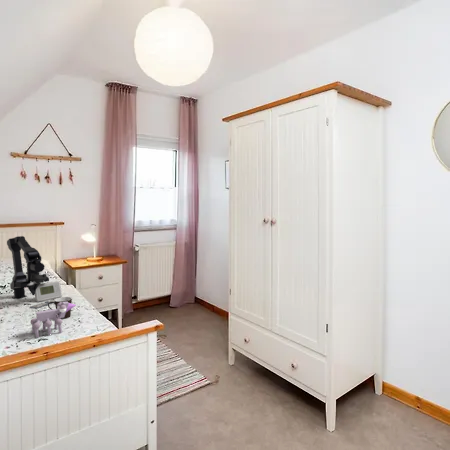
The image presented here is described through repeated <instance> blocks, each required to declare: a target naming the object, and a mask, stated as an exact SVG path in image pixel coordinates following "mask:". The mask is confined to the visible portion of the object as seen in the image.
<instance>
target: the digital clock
mask: <svg viewBox="0 0 450 450" xmlns="http://www.w3.org/2000/svg"><path fill="white" fill-rule="evenodd" d="M34 296H35V302H36V303H39V302H47V301H50V300H54V299H57V298H61V297H63V292H62V286H61V282H60V281H59V280H56V281H47V282H43V283H41V284H40V285H39V286H38V287H37V289H36V292H35V295H34Z"/></svg>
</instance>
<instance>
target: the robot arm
mask: <svg viewBox="0 0 450 450" xmlns="http://www.w3.org/2000/svg"><path fill="white" fill-rule="evenodd" d="M6 245H7V247H8V249H9V250H10V252H11V255H12V264H13V270H14V271H13V272H14V274H13V276H12V280H11V283H10V285H9V287H10V290H12V291H13V296H11V299H17V300H19V299H22V298H26V297H28V296H27V295H26V294H25V293H26V291H25V288H27V289H28V290H29V292H30V294H31V295H32V296H35V292H36V289H37V287H38V286H39V285H40V284H42V283H48V282H50V278H49V277H48V276H47V274H46V273H42V272H43V271H44V269H45V264H44V263H43V262H42V255H41V254H40V252H39V251H38V249H36V248H34V247H32V246H31V245H30V244H29V242H28V241H27V240H26V238H25V236H23V235H21V236H19V235H18V236H15V237H12V238H8V240H6ZM21 250H22V251H23V257H24V260H25V263H26V272H25V273H24V271H23V263H22V262H23V261H22V254H21V253H22V252H21ZM40 273H42V274H40Z"/></svg>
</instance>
